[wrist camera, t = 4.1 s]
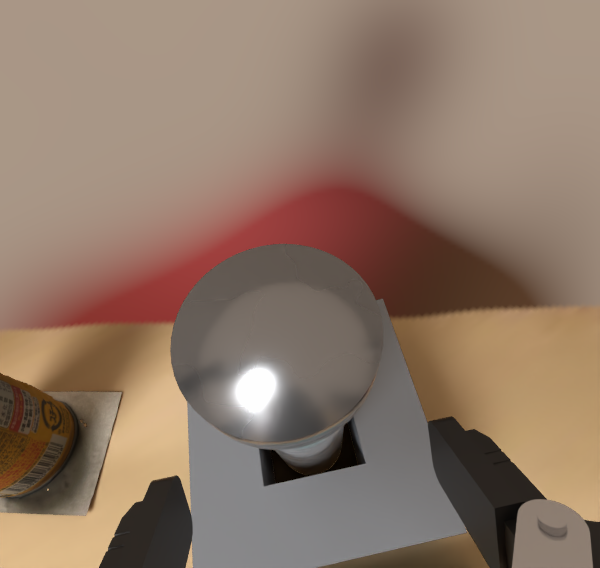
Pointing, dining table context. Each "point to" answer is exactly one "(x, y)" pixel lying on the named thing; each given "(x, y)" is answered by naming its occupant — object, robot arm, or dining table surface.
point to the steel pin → (279, 351)
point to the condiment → (51, 447)
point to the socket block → (322, 487)
